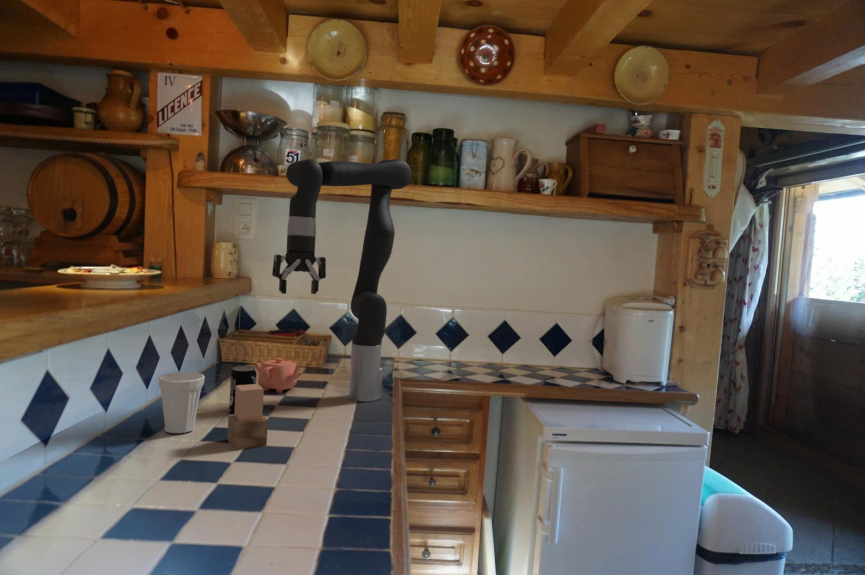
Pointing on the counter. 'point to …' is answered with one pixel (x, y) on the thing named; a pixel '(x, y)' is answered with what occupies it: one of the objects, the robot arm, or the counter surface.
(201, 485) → the counter surface
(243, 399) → the tan cardboard cube
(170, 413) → the cup
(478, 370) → the counter surface
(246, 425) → the base block
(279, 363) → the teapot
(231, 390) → the beverage can
